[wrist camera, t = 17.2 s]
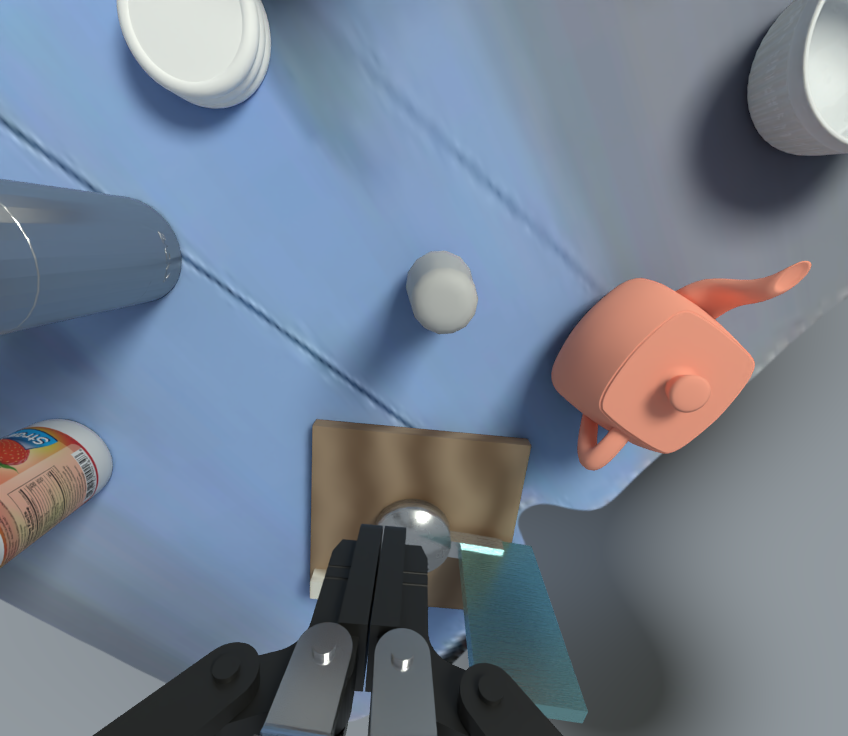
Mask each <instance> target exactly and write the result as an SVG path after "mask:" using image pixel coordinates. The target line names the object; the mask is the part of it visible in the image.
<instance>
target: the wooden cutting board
mask: <svg viewBox="0 0 848 736" xmlns="http://www.w3.org/2000/svg"><path fill="white" fill-rule="evenodd" d="M530 450H531V444H530V442H529V440H528V439H525V438H514V437H503V436H492V435H481V434H471V433H460V432H449V431H438V430H427V429H416V428H406V427H395V426H384V425H373V424H362V423H352V422H341V421H330V420H319V419H316V421H315V422H314V424H313V428H312V492H311V556H310V599H318V597H319V594H320V590H321V587H322V584H323V580H324V578H325V574H326V570H327V567H328V564H329V561H330V557H331V554H332V551H333V550H334V548H335V547H336V546H337V545H338V544H339V543H340V542H341V540H342V539H346V540H357V539H358V534H359V530H360V526H361V524H371V525H376V521H377V519H378V517H379V515H380V513H381V512H382V511H383V510H384V509H385V508H386V507H387V506H389V505H390V504H392V503H394V502H397V501H400V500H404V499H421V500H425V501H428V502H430V503H432V504H434V505H435V506H437V507H438V508H439V509H441V510H442V512H443V513H444V514H445V516H446V517H447V519H448V522H449V526H450V530H451V531H456V532H462V533H468V534H474V535H480V536H485V537H491V538H497V539H501V540H502V541H503V542H509V543H512V539H513V534H514V529H515V524H516V519H517V514H518V509H519V504H520V499H521V494H522V489H523V484H524V479H525V474H526V469H527V464H528V460H529V455H530ZM428 607H439V608H451V609H463V599H462V589H461V579H460V569H459V559H458V558H452V557H447V558H446V560H445V561H444V562H443V563H442V564H441V565H440V566H439V567H438V568H436V569H434V570H433V571H430V572H428Z"/></svg>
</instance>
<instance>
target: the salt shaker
mask: <svg viewBox="0 0 848 736" xmlns="http://www.w3.org/2000/svg"><path fill="white" fill-rule="evenodd" d="M406 290H407V293H408V297H409V300H410V303H411V306H412V310H413V313H414V317H415V318H416V319H417V320H418V321H419V322H420V323H421V324H422V326H423V327H424V328H426V329H428V330H430V331H433V332H435V333H437V334H448V333H454V332H456V331H458V330H460V329H462V328H464V327H466V326H467V324H468V323H469V321H470V320H471V319H472V317H473V316H474V315H475V311H476V306H477V302H478V297H477V293H476V289H475V285H474V283H473V280H472V276H471V272H470V269H469V267H468V266H467V265H466V264H465V262H464V261H463V260H462V259H461V258H460V257H459V256H457V255H454V254H452V253H450V252H447V251H434V252H429V253H427V254H425V255H424V256H422V257H420V258H419V259H417V260H416V261H415V263H414V264H413V266H412V267H411V269H410V270H409V272H408V276H407V283H406Z"/></svg>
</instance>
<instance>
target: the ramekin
mask: <svg viewBox="0 0 848 736" xmlns="http://www.w3.org/2000/svg"><path fill="white" fill-rule="evenodd" d="M747 90H748V94H747V100H748V108H749V112H750V115H751V119H752V121H753V123H754V126H755V128H756V129H757V130H758V132H759V134H760V135H761V136H762V137H763V139H764V140H765V141H767V142H768V143H769V144H770V145H771V146H773V147H775V148H777V149H778V150H781V151H784V152H786V153H790V154H794V155H806V156H819V155H832V154H844V153H847V154H848V0H794V1H793V2H792V3H791V4H790V5H789V6H788V7H787V8H786V10H784V11H783V12H782V13H781V14H780V16H779V17H778V18H777V19H776V21H775V23H774V24H773V25H772V26H771V27H770V29H769V30H768V32H767V34H766V36H765V37H764V38H763V40H762V42H761V44H760V47H759V49H758V50H757V52H756V55H755V59H754V61H753V63H752V67H751V72H750V75H749V82H748V86H747Z"/></svg>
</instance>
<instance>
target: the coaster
mask: <svg viewBox="0 0 848 736" xmlns="http://www.w3.org/2000/svg"><path fill="white" fill-rule="evenodd" d="M117 11H118V18H119V22H120V27H121V30H122V33H123V36H124V38H125V41H126V43H127V45H128V47H129V49H130V51H131V52H132V54H133V56H134V57H135V59H136V60H137V62H138V63H139V64H140V66H141V67H142V68H143V69H144V70H145V72H146V73H147V74H148V75H149V76H150V77H151V78H152V79H153V80H155V81H156V82H157V83H158V84H160V85H161V86H162V87H164V88H165V89H167V90H169V91H171V92H173V93H174V94H176V95H178V96H179V97H181V98H183V99H184V100H186V101H188V102H190V103H192V104H195V105H198V106H201V107H206V108H216V109H219V108H228V107H231V106H235V105H237V104H239V103H242V102H243V101H245V100H246V99H248V98H249V97H250V96H251V95H252V94H253V93H254V92H255V91H256V90H257V89H258V87H259V86H260V84H261V83H262V81H263V79H264V77H265V74H266V72H267V69H268V65H269V61H270V55H271V35H270V28H269V23H268V19H267V15H266V12H265V9H264V6H263V4H262V2H261V0H117Z"/></svg>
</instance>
